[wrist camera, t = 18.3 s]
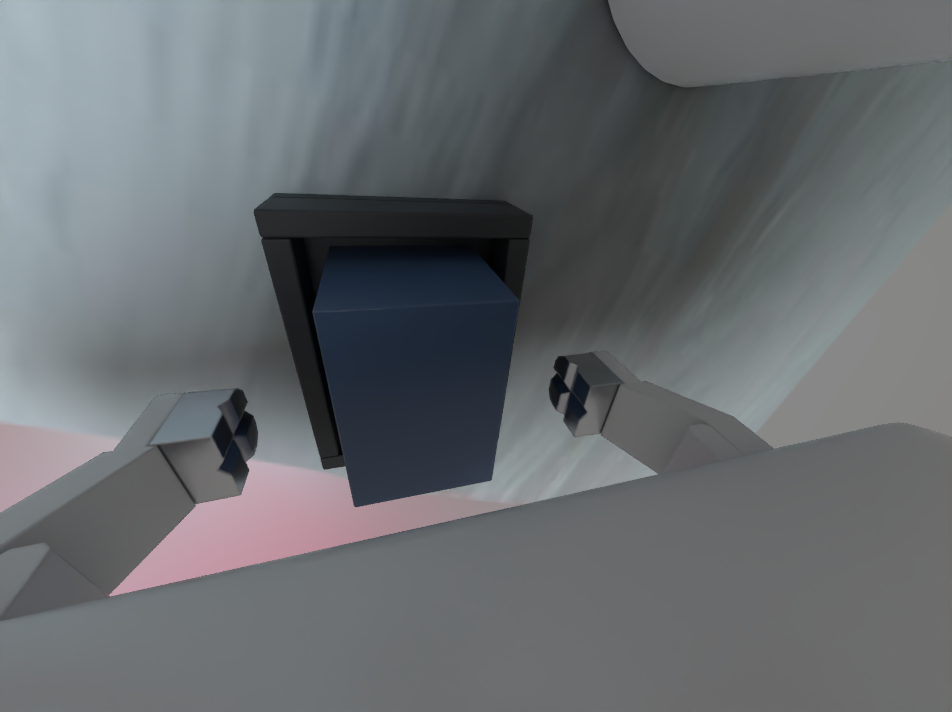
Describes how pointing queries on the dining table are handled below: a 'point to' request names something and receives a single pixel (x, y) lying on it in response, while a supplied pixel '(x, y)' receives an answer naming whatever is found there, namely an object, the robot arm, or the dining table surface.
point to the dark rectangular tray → (370, 224)
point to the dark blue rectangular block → (414, 365)
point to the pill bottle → (780, 37)
